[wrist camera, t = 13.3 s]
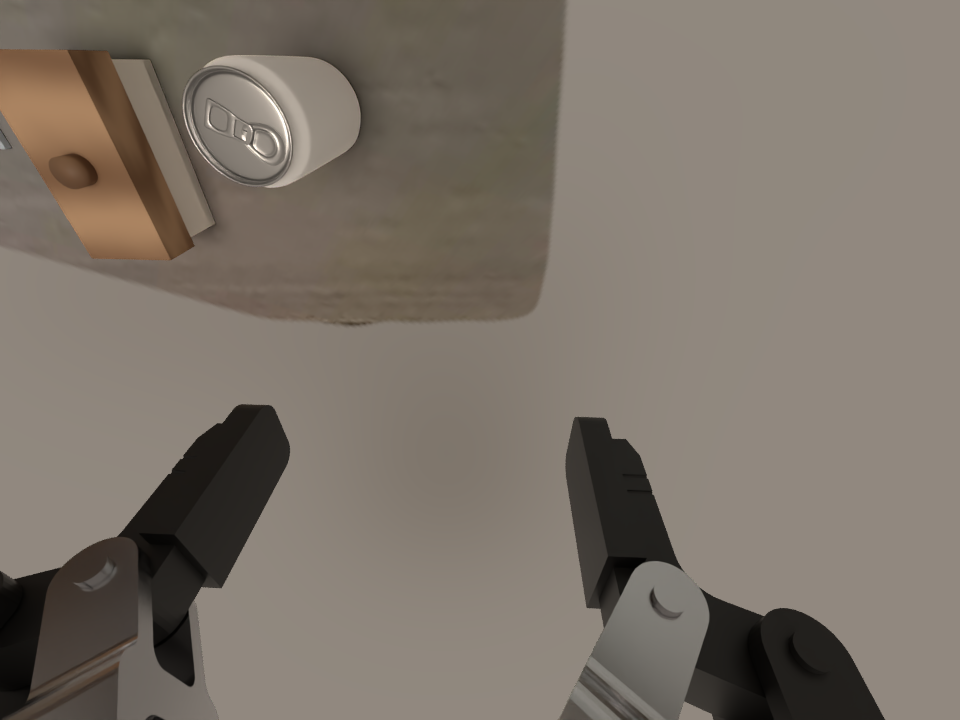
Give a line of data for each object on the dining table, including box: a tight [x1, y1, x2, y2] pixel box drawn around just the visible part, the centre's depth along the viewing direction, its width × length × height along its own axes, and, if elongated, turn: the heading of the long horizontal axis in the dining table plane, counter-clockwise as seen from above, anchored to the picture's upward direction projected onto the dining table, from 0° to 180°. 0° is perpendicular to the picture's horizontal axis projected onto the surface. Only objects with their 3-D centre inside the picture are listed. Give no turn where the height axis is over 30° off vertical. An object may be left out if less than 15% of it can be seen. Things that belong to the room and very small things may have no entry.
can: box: [182, 55, 361, 188], centre depth 26 cm, size 6×6×12 cm
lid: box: [0, 49, 194, 260], centre depth 28 cm, size 13×6×4 cm, turn 0°
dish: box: [112, 59, 215, 237], centre depth 31 cm, size 12×6×4 cm, turn 0°
